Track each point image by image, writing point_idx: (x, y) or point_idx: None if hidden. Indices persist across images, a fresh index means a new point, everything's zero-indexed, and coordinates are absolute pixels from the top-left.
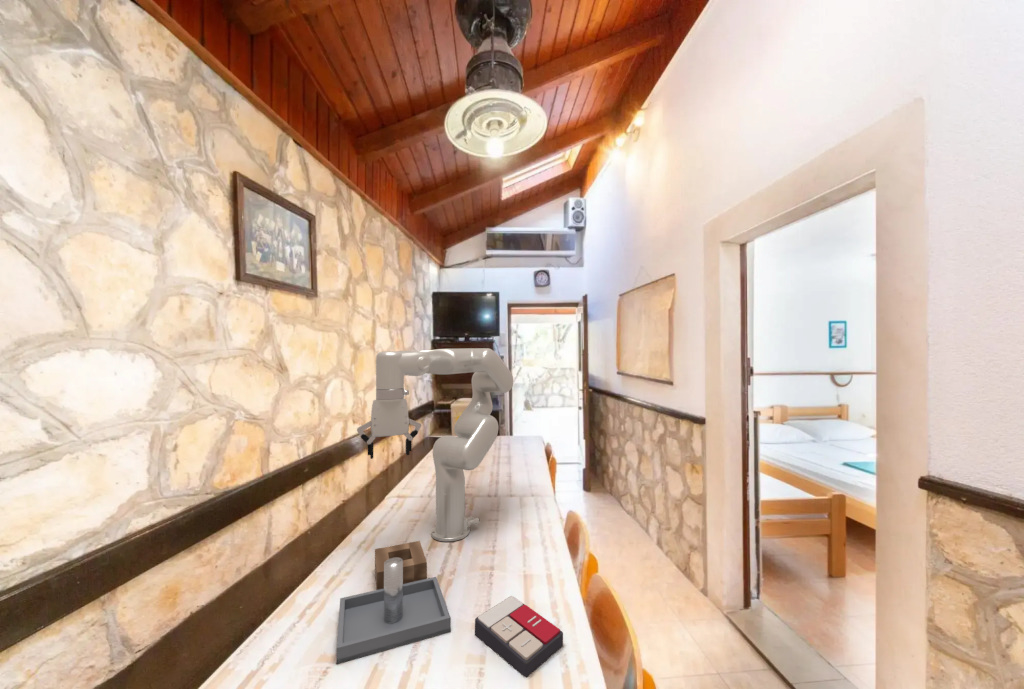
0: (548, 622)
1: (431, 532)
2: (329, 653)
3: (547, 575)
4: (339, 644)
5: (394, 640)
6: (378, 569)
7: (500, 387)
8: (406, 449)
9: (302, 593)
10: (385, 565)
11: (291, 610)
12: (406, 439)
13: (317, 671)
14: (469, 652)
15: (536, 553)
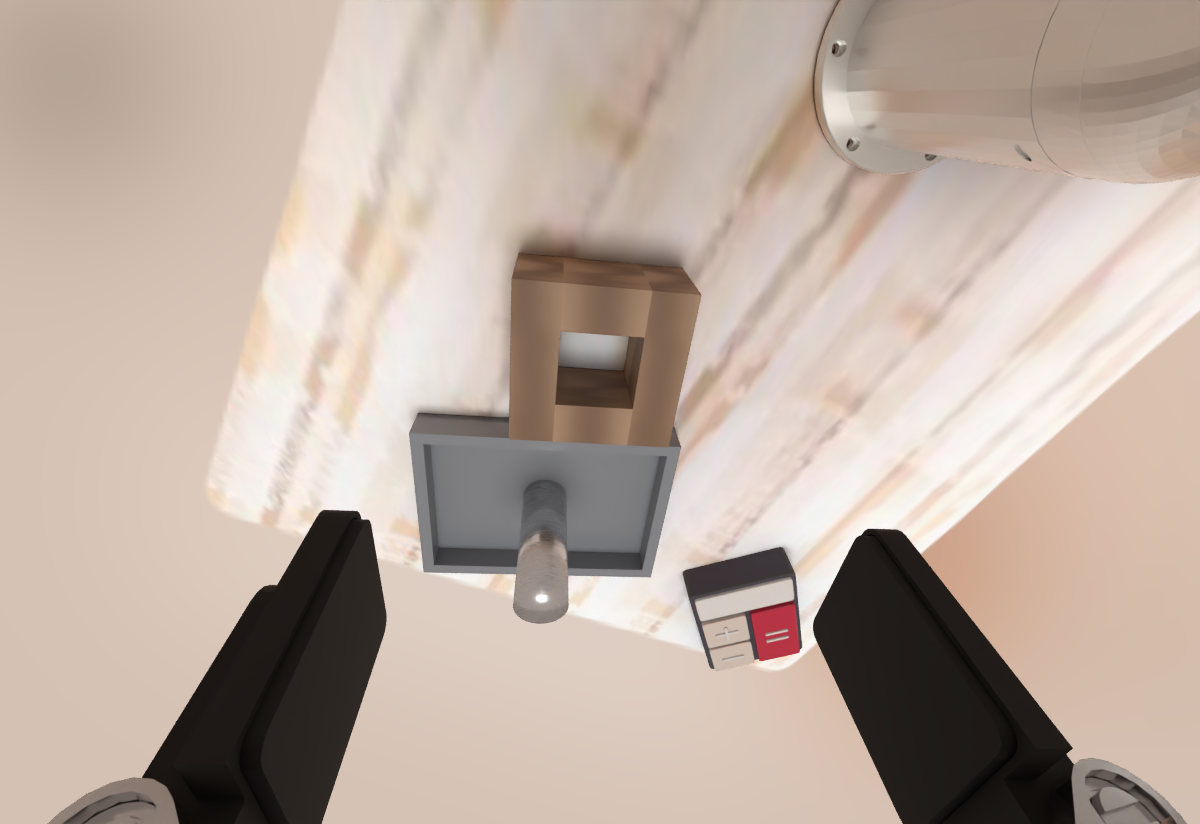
0: (795, 640)
1: (828, 44)
2: (413, 522)
3: (939, 488)
4: (428, 567)
5: None
6: (515, 425)
7: None
8: (852, 669)
9: (276, 275)
10: (516, 612)
11: (273, 351)
12: (1008, 768)
13: (398, 549)
14: (656, 597)
15: (1017, 394)
